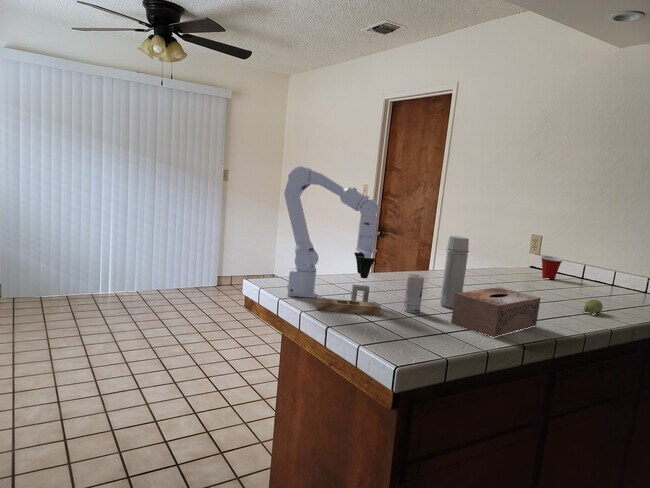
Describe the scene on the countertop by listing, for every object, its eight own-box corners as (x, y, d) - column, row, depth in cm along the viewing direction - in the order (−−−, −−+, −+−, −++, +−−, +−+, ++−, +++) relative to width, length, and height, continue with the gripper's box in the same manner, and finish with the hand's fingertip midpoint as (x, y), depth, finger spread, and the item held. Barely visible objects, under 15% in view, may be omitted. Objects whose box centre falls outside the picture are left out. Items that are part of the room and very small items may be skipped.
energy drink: (420, 310, 152) (425, 275, 150) (418, 314, 147) (423, 278, 145) (404, 307, 153) (409, 273, 152) (402, 311, 148) (406, 275, 147)
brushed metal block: (351, 303, 152) (353, 285, 152) (350, 301, 155) (352, 284, 154) (367, 304, 153) (369, 287, 152) (366, 302, 155) (368, 285, 154)
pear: (605, 300, 173) (597, 307, 167) (603, 312, 175) (595, 320, 168) (589, 296, 177) (580, 303, 171) (588, 308, 179) (578, 316, 172)
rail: (316, 309, 140) (317, 302, 140) (316, 305, 146) (316, 297, 145) (380, 315, 142) (381, 307, 141) (377, 310, 147) (378, 302, 147)
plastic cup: (540, 279, 238) (544, 257, 237) (534, 275, 249) (538, 254, 247) (562, 282, 237) (566, 260, 235) (555, 278, 247) (559, 257, 246)
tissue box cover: (493, 339, 129) (498, 305, 128) (450, 324, 140) (455, 293, 139) (535, 327, 146) (540, 297, 144) (494, 315, 157) (499, 287, 155)
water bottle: (445, 302, 167) (454, 235, 164) (464, 307, 162) (474, 239, 158) (432, 305, 161) (441, 235, 157) (451, 311, 155) (461, 239, 152)
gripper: (382, 239, 144) (377, 281, 146) (374, 234, 158) (370, 272, 160) (360, 237, 143) (355, 279, 145) (354, 232, 158) (350, 270, 159)
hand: (362, 275), depth 153 cm, fingers open, 7 cm apart
